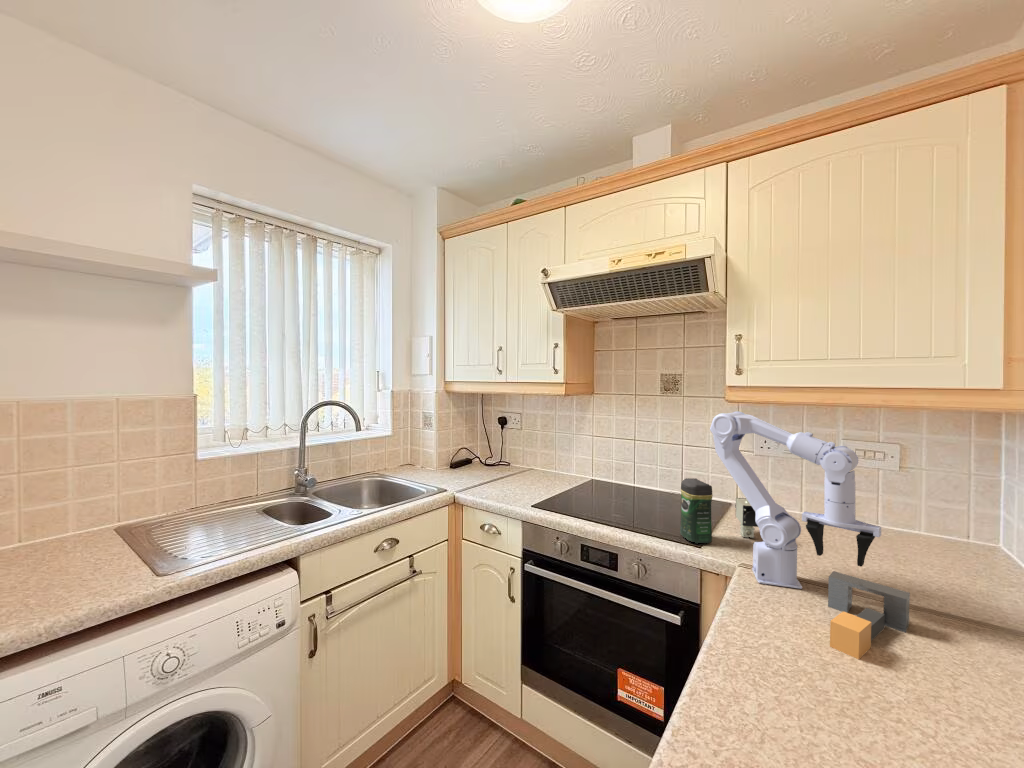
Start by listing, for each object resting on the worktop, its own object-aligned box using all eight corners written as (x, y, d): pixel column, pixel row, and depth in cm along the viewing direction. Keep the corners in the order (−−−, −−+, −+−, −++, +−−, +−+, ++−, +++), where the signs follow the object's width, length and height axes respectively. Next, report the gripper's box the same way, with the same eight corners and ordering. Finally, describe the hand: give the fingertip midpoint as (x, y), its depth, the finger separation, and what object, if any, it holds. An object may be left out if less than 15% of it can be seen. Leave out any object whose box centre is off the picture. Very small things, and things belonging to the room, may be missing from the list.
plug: (861, 619, 93) (862, 596, 93) (889, 630, 89) (889, 606, 89) (829, 646, 84) (830, 620, 84) (858, 659, 80) (859, 632, 80)
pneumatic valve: (744, 542, 134) (744, 503, 134) (734, 529, 146) (734, 493, 145) (764, 544, 133) (764, 504, 133) (752, 530, 144) (753, 494, 144)
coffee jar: (716, 544, 133) (717, 483, 132) (691, 545, 132) (691, 484, 131) (700, 533, 142) (700, 476, 142) (676, 533, 142) (677, 476, 141)
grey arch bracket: (832, 600, 101) (833, 570, 100) (908, 625, 91) (909, 592, 91) (827, 606, 98) (828, 576, 98) (905, 632, 88) (906, 599, 88)
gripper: (884, 503, 97) (884, 564, 97) (808, 491, 108) (809, 545, 109) (876, 510, 93) (876, 574, 93) (798, 496, 104) (798, 553, 104)
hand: (839, 559), depth 101 cm, fingers open, 7 cm apart
